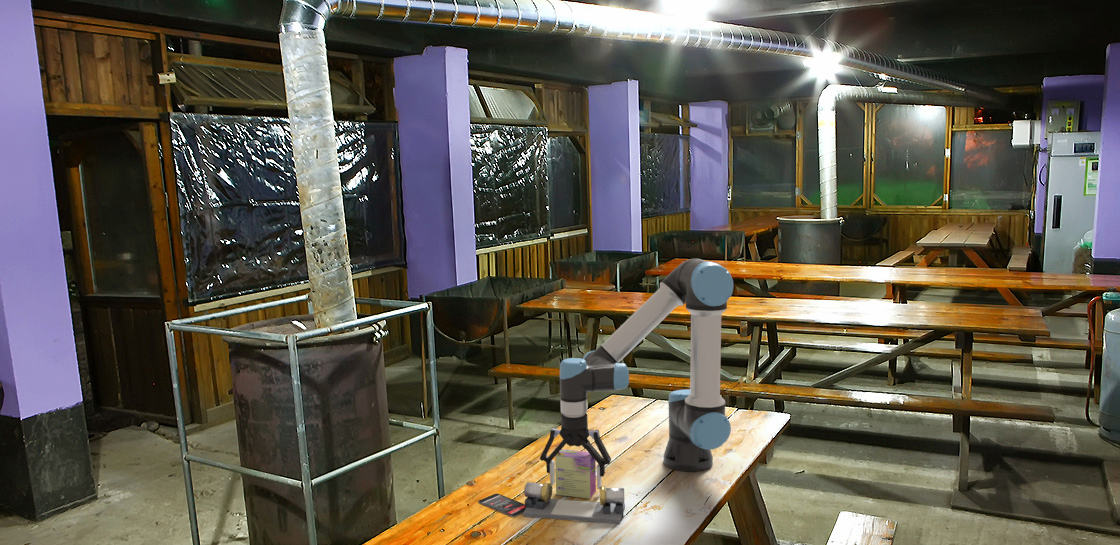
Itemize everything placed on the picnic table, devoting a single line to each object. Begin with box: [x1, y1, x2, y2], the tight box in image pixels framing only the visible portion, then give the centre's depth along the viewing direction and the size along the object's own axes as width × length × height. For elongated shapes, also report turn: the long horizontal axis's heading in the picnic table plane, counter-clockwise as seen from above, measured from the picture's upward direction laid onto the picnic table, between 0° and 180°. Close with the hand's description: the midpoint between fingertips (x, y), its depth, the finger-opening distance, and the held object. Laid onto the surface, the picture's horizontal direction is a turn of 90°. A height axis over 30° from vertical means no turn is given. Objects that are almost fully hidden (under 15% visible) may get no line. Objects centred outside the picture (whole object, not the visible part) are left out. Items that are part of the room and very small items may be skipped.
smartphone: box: [478, 493, 525, 518], centre depth 211 cm, size 7×1×15 cm
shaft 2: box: [599, 486, 625, 519], centre depth 204 cm, size 6×5×7 cm
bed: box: [522, 498, 626, 525], centre depth 206 cm, size 26×10×1 cm, turn 77°
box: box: [554, 448, 597, 500], centre depth 217 cm, size 10×6×12 cm, turn 71°
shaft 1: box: [523, 481, 553, 510], centre depth 208 cm, size 6×5×7 cm
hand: (575, 485), depth 218 cm, fingers open, 13 cm apart
